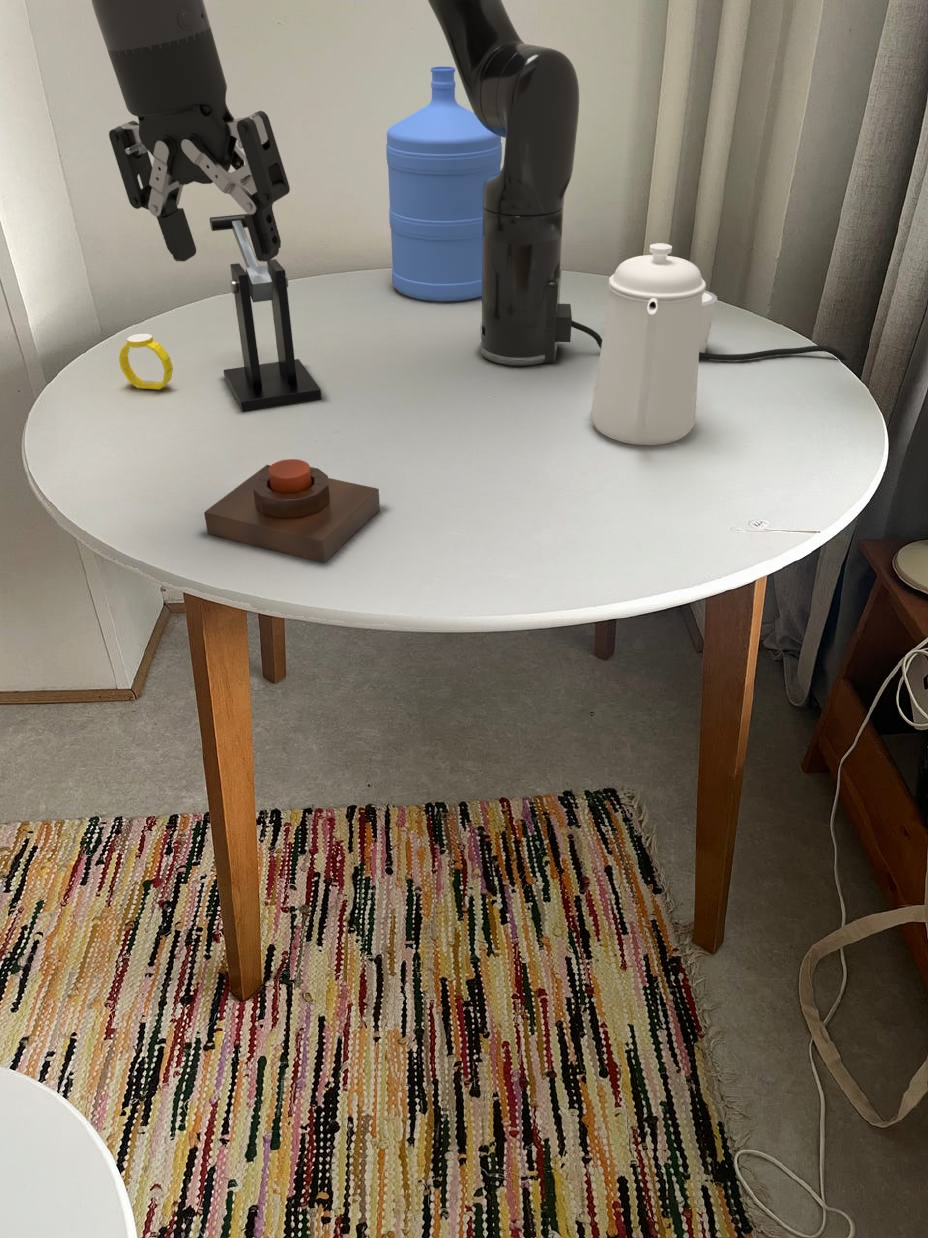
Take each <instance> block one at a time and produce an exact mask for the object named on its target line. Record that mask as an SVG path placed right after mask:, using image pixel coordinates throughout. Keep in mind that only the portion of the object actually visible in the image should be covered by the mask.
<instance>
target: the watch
mask: <svg viewBox="0 0 928 1238" xmlns="http://www.w3.org/2000/svg"><path fill="white" fill-rule="evenodd" d="M126 342H127V343H125V344H124V345H123V346H122V347H121V348H120V353H119V357H118V358H119V359H118V360H119V365H120V369H121V372H122V373H123V375H124V376H125V379H126V380H127V381H128V382H129V383H130V384H132V385H133V386H134V387H136V389H141V390H142V389H143V390H145V389H146V390H157V391H160V390H162V389H163V388H164V387H166V386H167V385H168V384H169V382H170V381H171V380H172V378H173V370H174V366H173V363H172V360H171V356H170V355H169V353H168V352H167V351H166V350H165V348H164V347H163V345H161V344H160V343H159V342H157V341H155V340H154V337H153V335H152V334H150V333H137V334H132V335H130V336H128V337H127V338H126ZM144 347H146V348H148V349H149V350H151V351H153V352H154V353H155V355H156V356H157V357H158V359H159V360H160V362H161V365H162V367H163V371H164V372H163V379H162V382H148V381H144V380H142V378H140V377H139V376H137V374H136V373H135V371H134V369H133V368H132V367H131V364H130V360H129V352H130V349H131V348H144Z"/></svg>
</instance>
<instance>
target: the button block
mask: <svg viewBox="0 0 928 1238" xmlns="http://www.w3.org/2000/svg"><path fill="white" fill-rule="evenodd" d="M271 465H272V464H266V465H264V466H263V467H261V468H260V469H259V470H258V471H256V473H254V474H253V475H251V476H250V477H249V478H247V479H246V480H245V481H243V482H242V483H240V485H238V486H237V487H235V488H234V489H233V490H231V491H230V492H228V494H226V495H224V497H222V498H221V499H219V500H218V501H217V502H216V503H214V504H213V505H212V506H210V507H209V508H207V509H206V510H205V511H204V512H203V514H204V520H205V526H206V531H207V534H209V535H212V536H215V537H220V538H224V539H228V540H233V541H235V542H240V543H244V544H247V545H252V546H254V547H255V546H256V547H258V548H259V547H260V548H264V549H268V550H272V551H276V552H280V553H283V554H288V555H292V556H296V557H300V558H304V559H308V560H311V561H316V562H319V563H322V564H323V563H324V564H325V563H327V561H328V560H330V559H331V557H332V556H334V555H335V554H336V553H337V552H338V551H339V550H340V549H341V548H342V547H343V546H344V545H345V544H346V543H347V542H348V541H349V540H350V539H351V538H353V536H354V535H355V534H356V533H358V531H359V530H361V529H362V528H363V526H364V525H365V524H366V523H368V522H369V521H370V520H371V519H372V518H373V517H374V516H376V514H377V513H378V512H379V511H380V510H381V504H380V489H379V488H377V487H373V486H367V485H364V484H363V485H362V484H359V483H354V482H350V481H345V480H340V479H336V478H331V477H329V476H328V474H326V473H325V472H324V471H322V470H321V469H320V468H317V467H313V466H310V472H311V481H312V486H311V487H310V488H309V489H308V490H305V491H302V492H299V493H293V494H281V493H277V492H273V491H272V490H271V486H270V479H269V467H270V466H271Z"/></svg>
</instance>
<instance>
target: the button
mask: <svg viewBox="0 0 928 1238" xmlns="http://www.w3.org/2000/svg"><path fill="white" fill-rule="evenodd" d="M270 465H271V466H270V467H269V479H270V486H271V490H272V491H273V492H277V493H281V494H293V493H299V492H302V491H305V490H308V489H309V488H310V487H311V486H312V481H311V472H310V467H311V466H310V464H309V463H308V462H306V461H305V460H302V459H296V458H289V459H282V460H278V461H276V462H274V463H272V464H270Z"/></svg>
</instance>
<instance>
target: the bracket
mask: <svg viewBox="0 0 928 1238" xmlns="http://www.w3.org/2000/svg"><path fill="white" fill-rule="evenodd" d="M266 264H267V265H266V267H267V270H268V272H269V275H270V277H271V280H272V283H273V300H270V301H271V308H272V310H271V311H272V317H273V325H274V326H273V327H274V335H275V344H276V351H277V360H278V361H274V362H268V363H261V364H260V361H259V360H260V359H259V353H258V352H259V351H258V344H257V337H256V329H255V321H254V315H253V314H254V313H253V306H252V298H251V296H250V289H249V281H248V274H247V273H246V269H244V267H243V266H242V265H241V264H240V263H239V262H238V263H230V271H231V272H230V274H231V280H230V282H229V283H230V289H231V293H232V295H233V296H234V302H235V309H236V317H237V324H238V332H239V338H240V345H241V347H240V348H241V354H242V361H243V366H240V367H232V368H225V369H223V377H224V380H225V382H226V384H227V386H228V388H229V390H230V392H231V393H232V395H233V397H234V399H235V401H236V402H237V404H238V406H239V409H240V410H241V412H249V411H256V410H262V409H268V408H274V407H281V406H288V405H293V404H294V405H295V404H299V403H306V402H313V401H318V400H322V389H321V387H320V386H319V385H318V383H317V382H316V381H315V380H314V378H313V377H312V375H311V374H310V373H309V371H308V369H307V368H306V367H305V366H304V364H303V363H302V362H301V361H300V359H299V358H296V359H295V350H294V340H293V331H292V322H291V321H292V320H291V313H290V304H289V303H290V302H289V294H288V293H289V292H288V288H289V279H288V276H287V274H286V269H284V267H283V266H282V265H281V263H280V262H278V260H277V259H275V258H272V259H271V260H269V261H267V262H266Z"/></svg>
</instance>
